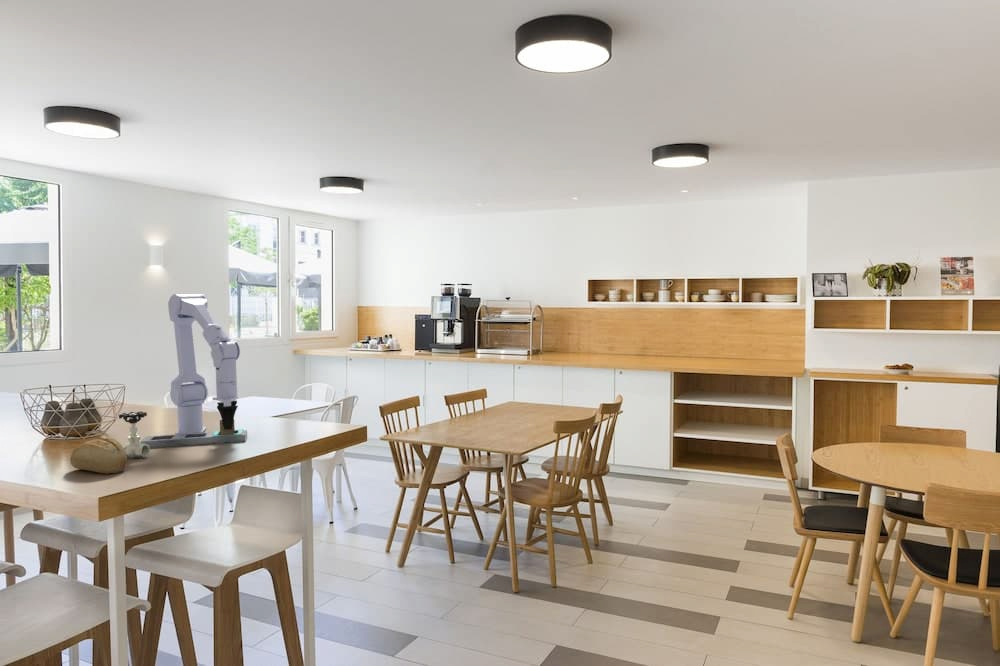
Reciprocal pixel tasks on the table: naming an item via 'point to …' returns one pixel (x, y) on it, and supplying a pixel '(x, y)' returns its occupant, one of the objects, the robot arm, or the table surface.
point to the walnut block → (229, 431)
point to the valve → (134, 436)
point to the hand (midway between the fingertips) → (228, 427)
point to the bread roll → (99, 456)
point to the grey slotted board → (194, 439)
